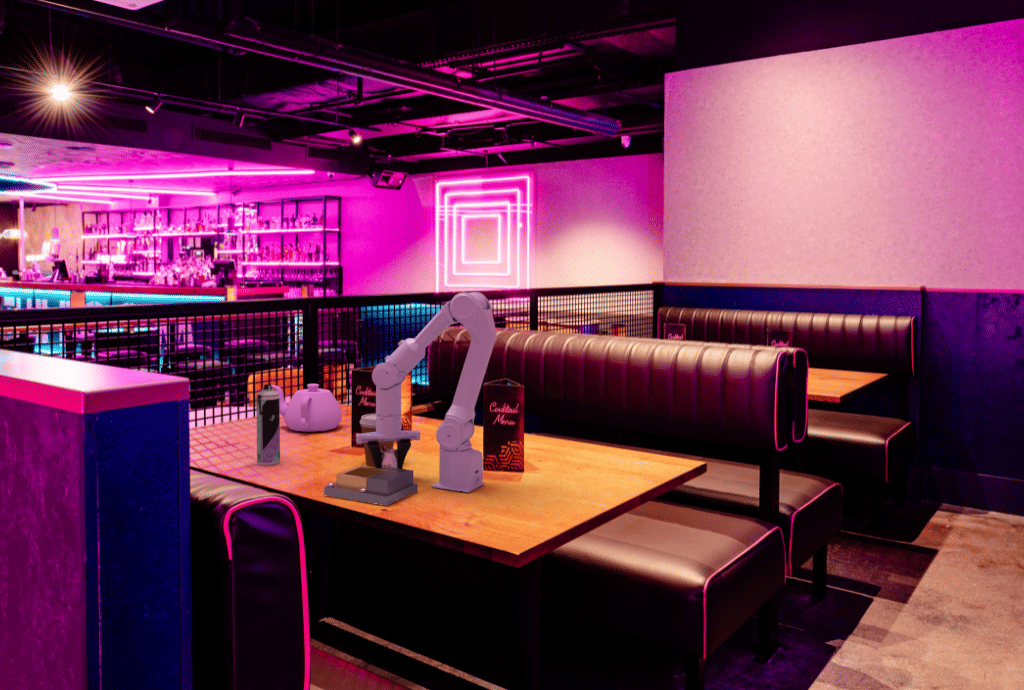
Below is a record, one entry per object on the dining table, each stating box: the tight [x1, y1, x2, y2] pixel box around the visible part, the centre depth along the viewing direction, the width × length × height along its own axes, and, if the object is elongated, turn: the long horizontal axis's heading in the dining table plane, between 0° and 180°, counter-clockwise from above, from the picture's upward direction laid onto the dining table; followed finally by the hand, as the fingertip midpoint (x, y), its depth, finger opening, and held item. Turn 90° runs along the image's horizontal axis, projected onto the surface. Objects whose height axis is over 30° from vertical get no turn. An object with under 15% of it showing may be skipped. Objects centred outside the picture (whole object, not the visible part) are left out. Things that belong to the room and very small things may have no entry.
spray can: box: [255, 383, 281, 467], centre depth 189 cm, size 6×6×20 cm
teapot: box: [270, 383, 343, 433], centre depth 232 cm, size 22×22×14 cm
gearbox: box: [323, 465, 419, 506], centre depth 165 cm, size 16×12×5 cm
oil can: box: [379, 443, 398, 470], centre depth 176 cm, size 4×4×9 cm
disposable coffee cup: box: [359, 412, 395, 467], centre depth 192 cm, size 10×10×12 cm
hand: (388, 472), depth 176 cm, fingers closed on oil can, 4 cm apart
